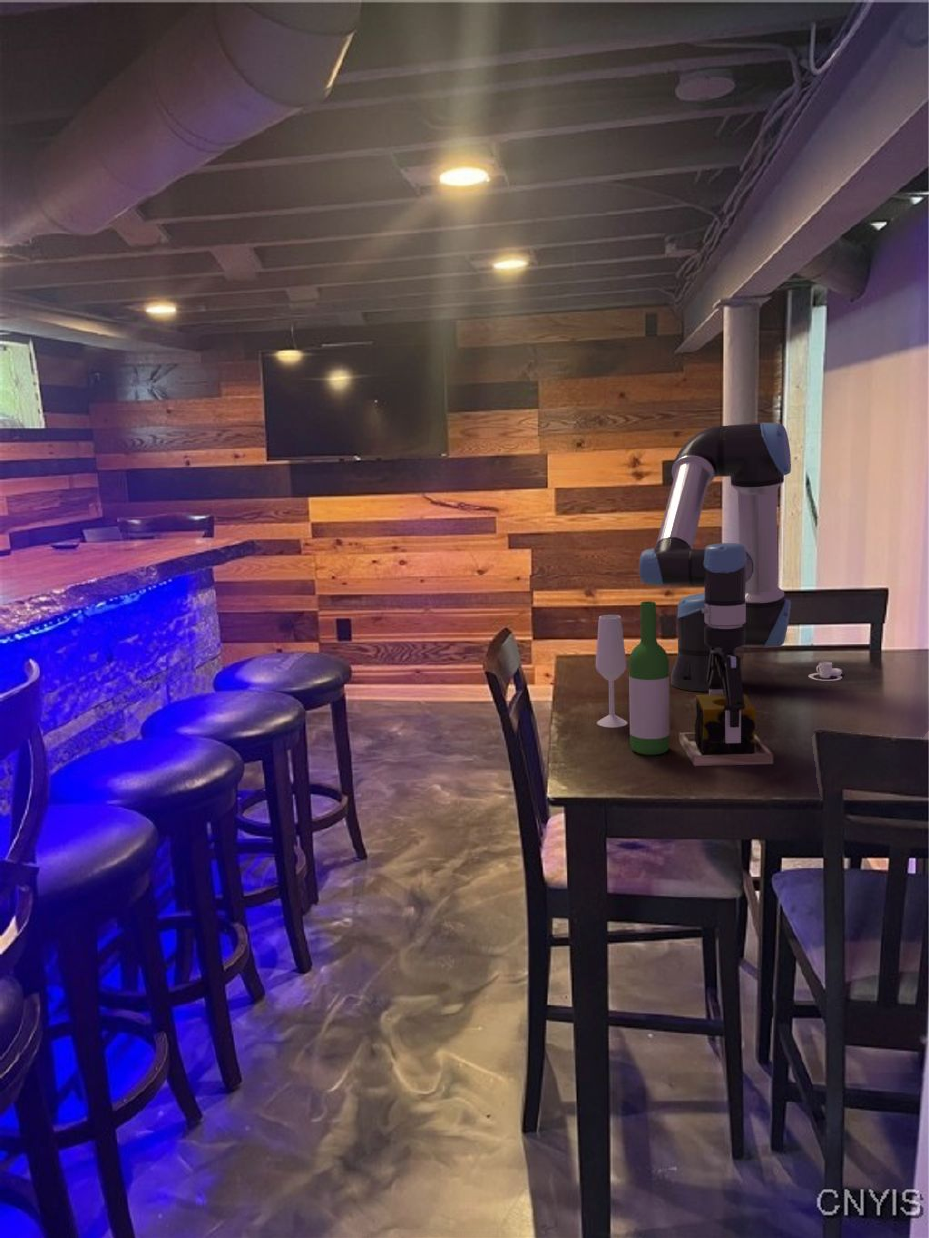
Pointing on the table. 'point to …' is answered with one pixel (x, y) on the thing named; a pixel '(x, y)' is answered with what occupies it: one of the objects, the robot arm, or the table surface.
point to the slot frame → (697, 759)
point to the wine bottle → (649, 689)
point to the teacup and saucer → (826, 671)
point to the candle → (722, 727)
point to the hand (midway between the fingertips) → (724, 731)
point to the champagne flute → (610, 661)
